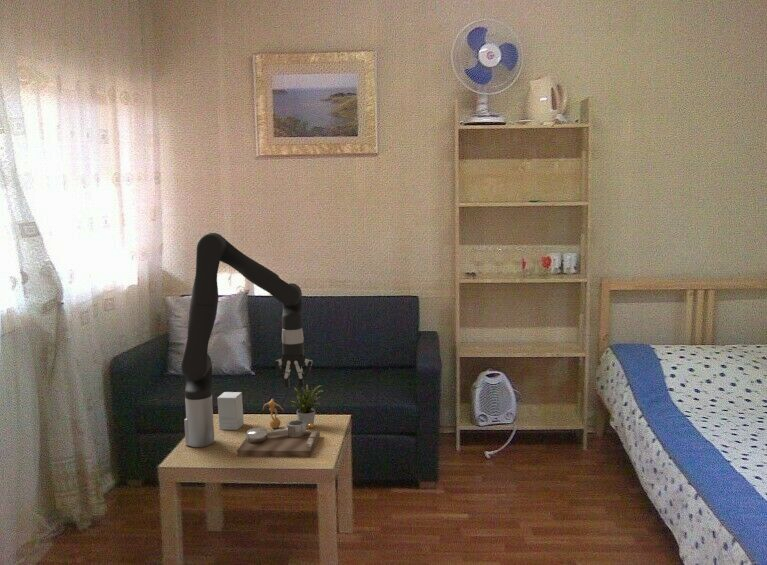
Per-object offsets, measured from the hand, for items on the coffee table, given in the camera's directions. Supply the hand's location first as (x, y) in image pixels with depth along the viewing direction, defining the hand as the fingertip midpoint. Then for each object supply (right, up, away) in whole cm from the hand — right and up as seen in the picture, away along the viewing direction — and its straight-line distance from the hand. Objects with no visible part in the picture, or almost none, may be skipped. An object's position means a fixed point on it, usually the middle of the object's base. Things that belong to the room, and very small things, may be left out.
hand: (294, 387), depth 252 cm
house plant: (+4, -17, +17) cm, 24 cm away
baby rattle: (-5, -17, +1) cm, 18 cm away
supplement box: (-26, -18, +18) cm, 36 cm away
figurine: (-9, -18, +15) cm, 25 cm away
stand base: (-5, -20, -3) cm, 21 cm away
